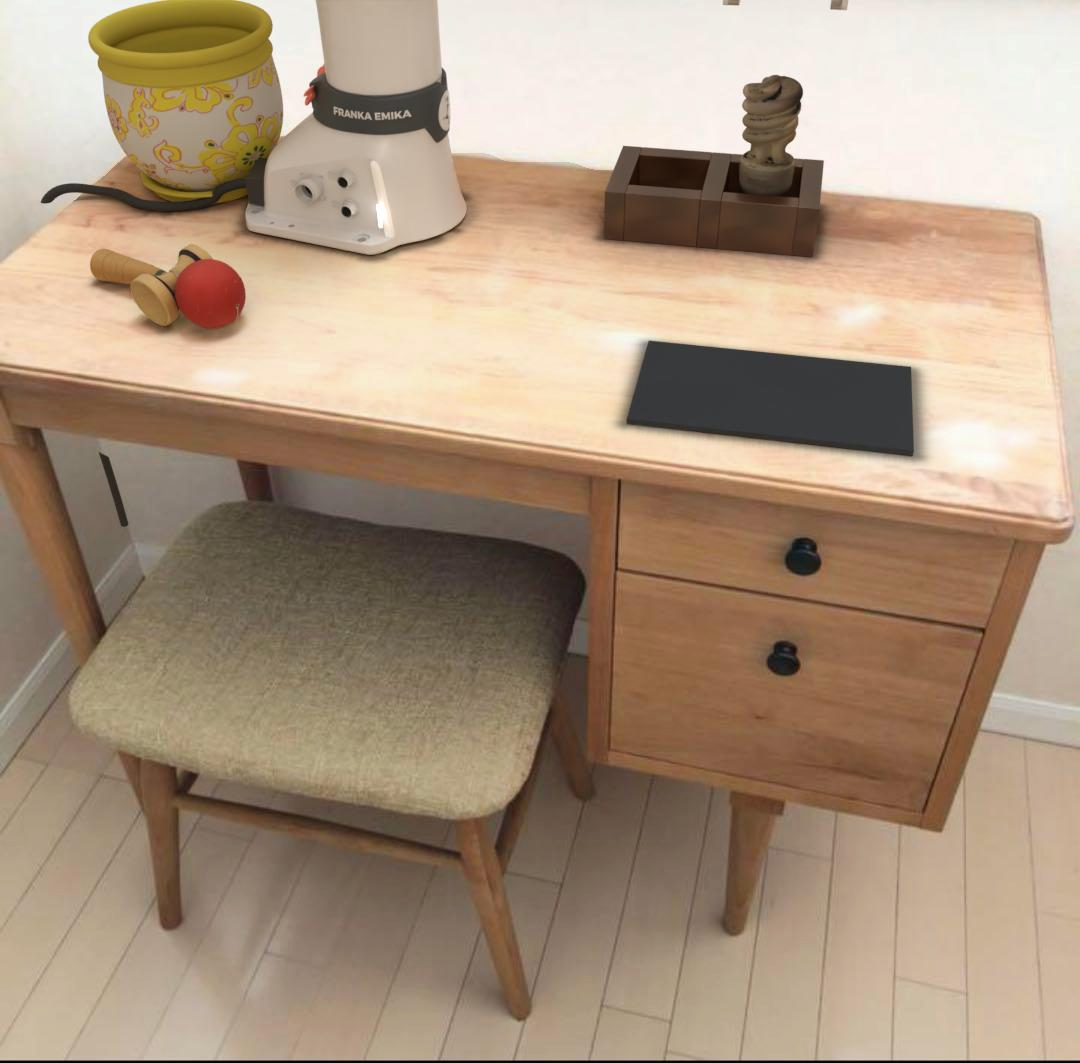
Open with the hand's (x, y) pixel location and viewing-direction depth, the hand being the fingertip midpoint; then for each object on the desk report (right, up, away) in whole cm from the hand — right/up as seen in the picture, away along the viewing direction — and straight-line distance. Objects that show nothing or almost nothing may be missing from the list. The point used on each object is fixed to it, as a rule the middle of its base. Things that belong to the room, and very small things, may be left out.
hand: (784, 6), depth 108 cm
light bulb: (0, -16, +14) cm, 21 cm away
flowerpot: (-58, -9, +24) cm, 63 cm away
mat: (-3, -36, -10) cm, 37 cm away
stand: (-4, -16, +15) cm, 22 cm away
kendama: (-56, -26, +3) cm, 62 cm away
